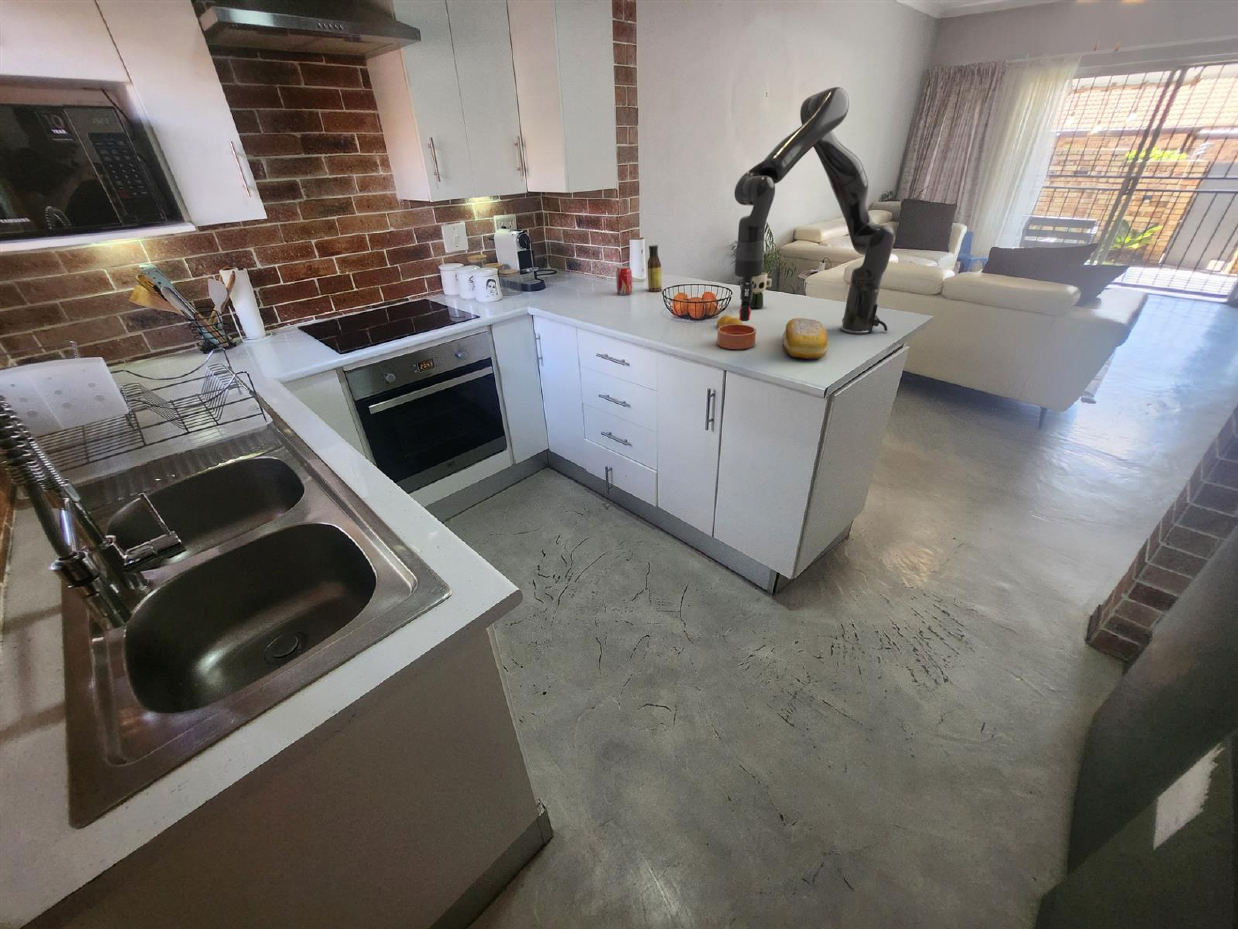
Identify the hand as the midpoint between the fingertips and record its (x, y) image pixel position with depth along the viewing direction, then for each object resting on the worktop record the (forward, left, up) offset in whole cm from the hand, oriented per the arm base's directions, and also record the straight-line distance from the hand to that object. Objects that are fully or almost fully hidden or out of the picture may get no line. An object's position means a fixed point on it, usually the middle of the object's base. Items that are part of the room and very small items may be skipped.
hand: (744, 318), depth 150 cm
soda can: (+55, -81, -12) cm, 99 cm away
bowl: (+2, -13, -12) cm, 18 cm away
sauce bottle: (+42, -88, -12) cm, 98 cm away
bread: (-19, -11, -12) cm, 25 cm away
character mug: (-4, -60, -12) cm, 61 cm away
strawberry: (0, 0, 0) cm, 0 cm away
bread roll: (+5, -32, -12) cm, 35 cm away
